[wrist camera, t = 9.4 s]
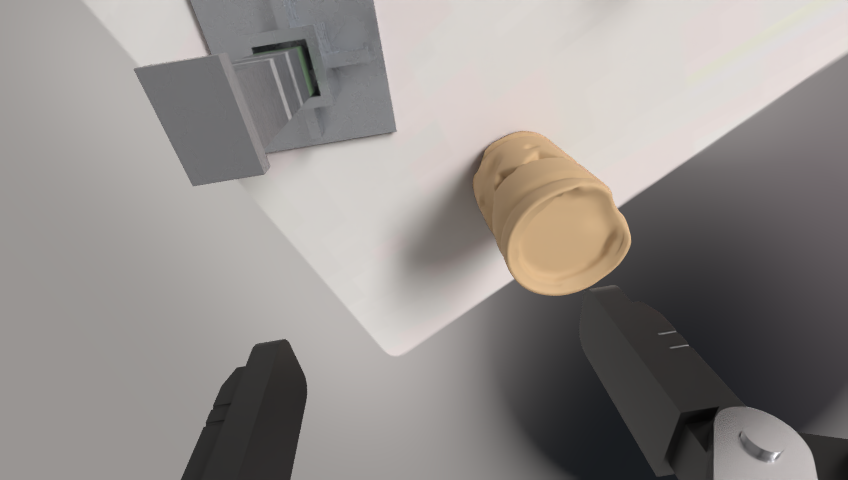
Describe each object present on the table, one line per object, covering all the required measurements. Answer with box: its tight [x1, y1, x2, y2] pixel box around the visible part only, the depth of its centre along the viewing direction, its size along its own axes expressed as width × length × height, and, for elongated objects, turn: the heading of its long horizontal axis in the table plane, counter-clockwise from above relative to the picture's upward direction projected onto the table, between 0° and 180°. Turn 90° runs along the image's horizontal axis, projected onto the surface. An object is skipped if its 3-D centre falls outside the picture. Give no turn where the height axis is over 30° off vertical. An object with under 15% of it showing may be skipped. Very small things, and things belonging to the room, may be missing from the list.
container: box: [473, 131, 631, 296], centre depth 44 cm, size 13×13×18 cm
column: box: [134, 45, 315, 186], centre depth 28 cm, size 6×4×20 cm, turn 8°
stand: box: [190, 0, 397, 153], centre depth 38 cm, size 18×18×9 cm
